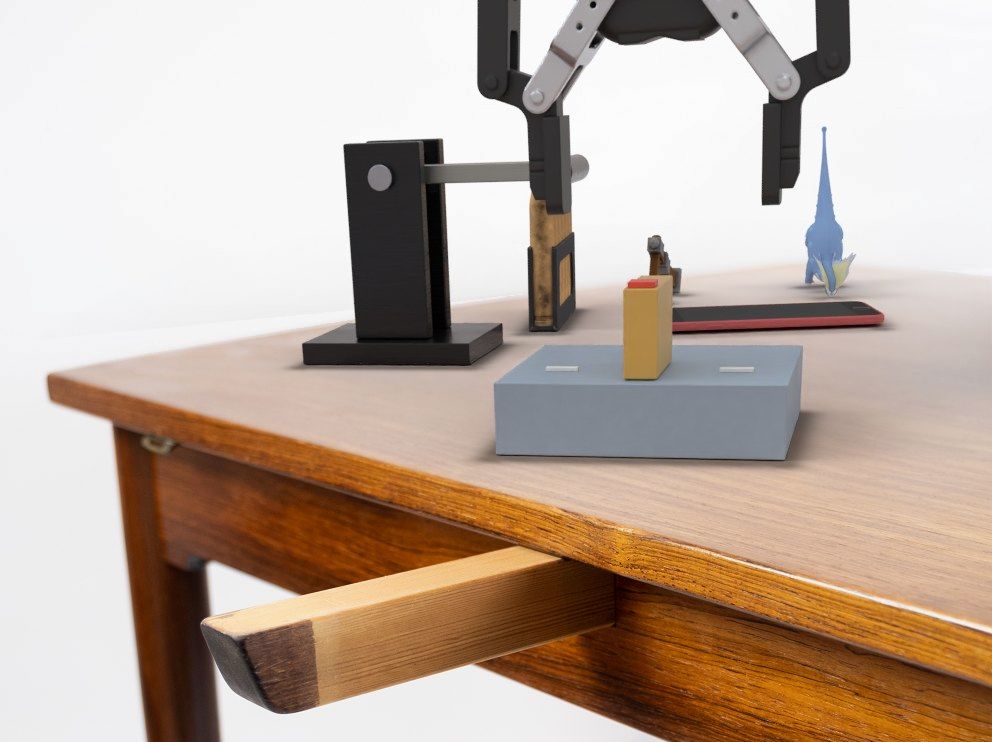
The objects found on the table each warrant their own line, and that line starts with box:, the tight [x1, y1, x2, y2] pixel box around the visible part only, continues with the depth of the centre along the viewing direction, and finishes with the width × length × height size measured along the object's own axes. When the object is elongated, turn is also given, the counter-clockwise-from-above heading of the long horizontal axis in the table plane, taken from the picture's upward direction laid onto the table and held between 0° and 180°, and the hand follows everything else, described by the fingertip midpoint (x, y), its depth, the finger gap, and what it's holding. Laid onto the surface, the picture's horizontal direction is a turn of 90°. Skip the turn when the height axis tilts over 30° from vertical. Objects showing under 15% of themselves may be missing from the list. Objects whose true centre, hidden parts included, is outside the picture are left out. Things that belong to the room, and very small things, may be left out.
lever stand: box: [301, 137, 504, 366], centre depth 88 cm, size 10×8×12 cm
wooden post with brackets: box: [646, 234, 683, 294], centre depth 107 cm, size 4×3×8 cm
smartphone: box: [672, 300, 885, 332], centre depth 95 cm, size 7×1×14 cm
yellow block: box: [622, 275, 674, 380], centre depth 63 cm, size 5×1×4 cm, turn 166°
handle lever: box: [424, 153, 590, 184], centre depth 85 cm, size 12×5×2 cm, turn 75°
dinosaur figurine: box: [804, 126, 857, 298], centre depth 109 cm, size 3×15×10 cm
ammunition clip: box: [526, 190, 577, 332], centre depth 98 cm, size 11×2×12 cm, turn 170°
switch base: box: [493, 344, 804, 461], centre depth 66 cm, size 12×10×3 cm
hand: (663, 208), depth 61 cm, fingers open, 8 cm apart
